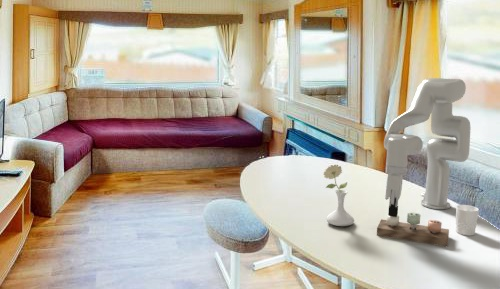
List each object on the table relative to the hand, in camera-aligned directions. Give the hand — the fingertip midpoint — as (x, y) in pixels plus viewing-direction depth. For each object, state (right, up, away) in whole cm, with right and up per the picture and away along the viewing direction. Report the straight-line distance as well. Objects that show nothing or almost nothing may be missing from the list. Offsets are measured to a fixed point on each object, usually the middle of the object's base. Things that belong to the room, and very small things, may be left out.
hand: (392, 215), depth 169 cm
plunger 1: (0, -6, +1) cm, 7 cm away
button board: (+7, -8, -2) cm, 10 cm away
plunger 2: (+7, -5, -2) cm, 9 cm away
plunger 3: (+14, -8, -5) cm, 16 cm away
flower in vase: (-19, -5, +11) cm, 23 cm away
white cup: (+29, -7, +2) cm, 30 cm away
